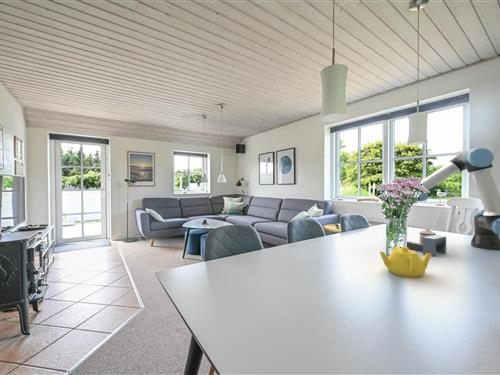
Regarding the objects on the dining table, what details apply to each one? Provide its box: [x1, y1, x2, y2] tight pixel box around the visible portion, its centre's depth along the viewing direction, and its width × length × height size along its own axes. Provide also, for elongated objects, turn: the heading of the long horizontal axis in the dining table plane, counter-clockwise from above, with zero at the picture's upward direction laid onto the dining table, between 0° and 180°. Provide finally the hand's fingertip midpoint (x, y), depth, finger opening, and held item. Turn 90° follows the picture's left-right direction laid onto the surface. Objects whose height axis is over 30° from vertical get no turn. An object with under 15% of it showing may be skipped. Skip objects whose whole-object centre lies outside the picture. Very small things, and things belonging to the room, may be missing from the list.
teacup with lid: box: [418, 228, 437, 244], centre depth 163 cm, size 12×9×12 cm
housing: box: [422, 234, 447, 257], centre depth 146 cm, size 14×6×10 cm, turn 119°
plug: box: [407, 240, 423, 253], centre depth 157 cm, size 6×22×6 cm, turn 28°
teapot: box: [379, 246, 432, 278], centre depth 116 cm, size 17×17×12 cm
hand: (399, 244), depth 164 cm, fingers closed on plug, 6 cm apart
